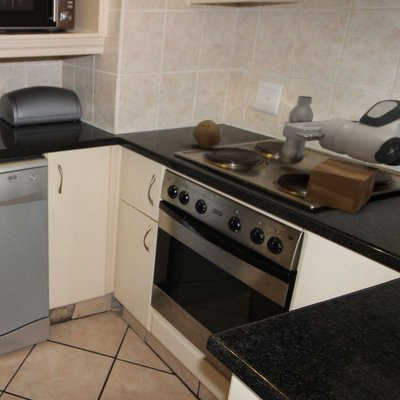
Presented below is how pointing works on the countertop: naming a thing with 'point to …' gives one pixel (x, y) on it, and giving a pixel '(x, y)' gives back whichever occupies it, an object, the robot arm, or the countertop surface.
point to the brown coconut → (207, 134)
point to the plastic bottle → (294, 148)
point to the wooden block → (341, 184)
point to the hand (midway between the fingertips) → (296, 123)
